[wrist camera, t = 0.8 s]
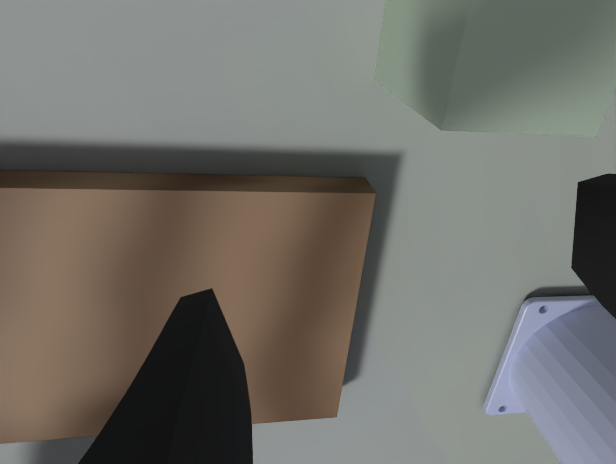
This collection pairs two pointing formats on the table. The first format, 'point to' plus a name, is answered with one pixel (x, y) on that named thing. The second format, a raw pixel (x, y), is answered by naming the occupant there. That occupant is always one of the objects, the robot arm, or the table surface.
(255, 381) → the board
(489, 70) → the block
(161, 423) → the robot arm
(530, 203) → the table surface
